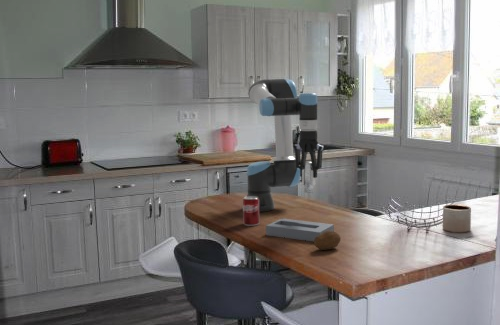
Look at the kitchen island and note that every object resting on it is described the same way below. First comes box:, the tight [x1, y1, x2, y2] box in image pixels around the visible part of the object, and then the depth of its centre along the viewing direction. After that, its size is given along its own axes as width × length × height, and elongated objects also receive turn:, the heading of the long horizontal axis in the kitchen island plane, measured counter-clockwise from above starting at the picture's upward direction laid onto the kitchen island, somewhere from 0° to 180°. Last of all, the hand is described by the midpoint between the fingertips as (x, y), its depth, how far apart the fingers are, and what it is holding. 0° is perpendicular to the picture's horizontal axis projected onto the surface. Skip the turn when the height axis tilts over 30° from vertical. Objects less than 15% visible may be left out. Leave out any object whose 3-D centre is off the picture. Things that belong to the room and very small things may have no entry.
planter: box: [442, 204, 472, 234], centre depth 225 cm, size 11×11×10 cm
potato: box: [313, 230, 341, 251], centre depth 202 cm, size 7×12×7 cm, turn 127°
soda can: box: [242, 196, 261, 227], centre depth 242 cm, size 7×7×12 cm
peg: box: [304, 161, 314, 194], centre depth 232 cm, size 4×4×13 cm
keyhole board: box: [265, 218, 335, 243], centre depth 223 cm, size 24×14×4 cm, turn 58°
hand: (308, 184), depth 233 cm, fingers closed on peg, 3 cm apart
